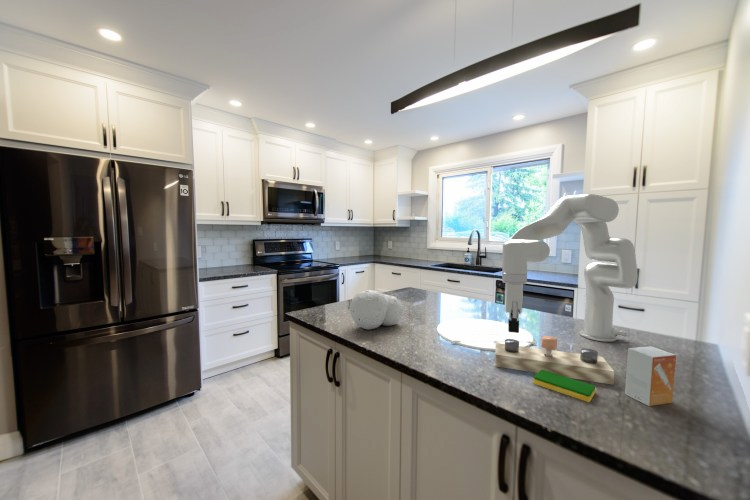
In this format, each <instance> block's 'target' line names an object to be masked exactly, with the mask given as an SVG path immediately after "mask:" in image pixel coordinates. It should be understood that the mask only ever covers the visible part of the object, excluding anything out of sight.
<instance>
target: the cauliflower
mask: <svg viewBox="0 0 750 500" xmlns="http://www.w3.org/2000/svg"><path fill="white" fill-rule="evenodd" d="M349 313H350V317H351V318H352V321H353V322H354V323H355V324H356V325H357V326H358V327H360V328H362V329H364V330H374V329H377V328H379V327H380V326H381V325H382V326H386V327H388V326H393V325H396V324H397V323H399V321H401V319H402V317H403V313H404V308H403V305H402V302H401V300H400V299H399V298H398V297H396V296H395V295H389V294H386V293H382V292H379V291H377V290H373V289H367V290H362V291H360V292H358V293H357V294H355V295H354V296H353V298H352V300H351V302H350V307H349Z"/></svg>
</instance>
